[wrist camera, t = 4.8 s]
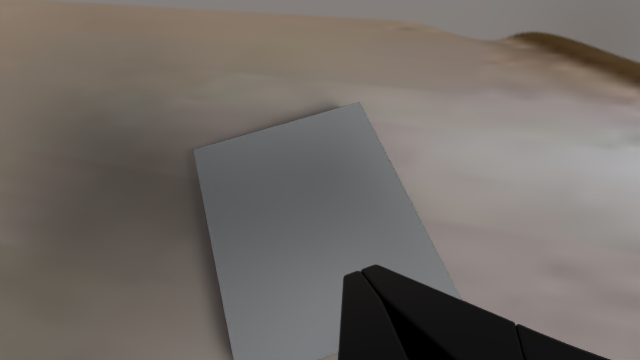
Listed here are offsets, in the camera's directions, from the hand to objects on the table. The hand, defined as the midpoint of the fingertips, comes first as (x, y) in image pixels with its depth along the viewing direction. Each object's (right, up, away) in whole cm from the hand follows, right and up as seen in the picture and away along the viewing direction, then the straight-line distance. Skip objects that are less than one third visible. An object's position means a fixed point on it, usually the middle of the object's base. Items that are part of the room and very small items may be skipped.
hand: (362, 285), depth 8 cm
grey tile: (+1, -5, +7) cm, 8 cm away
